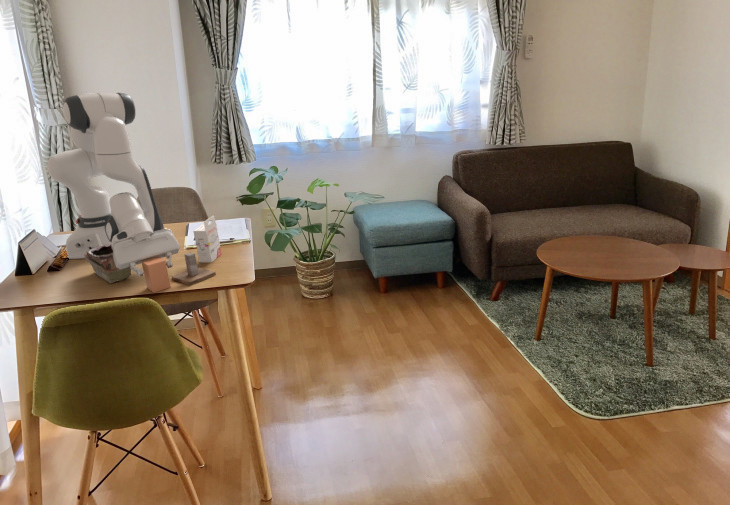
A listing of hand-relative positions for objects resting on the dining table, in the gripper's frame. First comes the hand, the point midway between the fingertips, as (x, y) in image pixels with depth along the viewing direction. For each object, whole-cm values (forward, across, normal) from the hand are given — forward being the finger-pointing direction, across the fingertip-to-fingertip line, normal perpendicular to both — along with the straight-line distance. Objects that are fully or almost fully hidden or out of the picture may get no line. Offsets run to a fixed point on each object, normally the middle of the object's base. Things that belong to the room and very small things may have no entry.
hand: (156, 271), depth 195 cm
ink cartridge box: (-5, -23, -13) cm, 27 cm away
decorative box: (-14, +9, -22) cm, 27 cm away
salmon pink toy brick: (+4, 0, -4) cm, 6 cm away
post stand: (+4, -12, -4) cm, 13 cm away
